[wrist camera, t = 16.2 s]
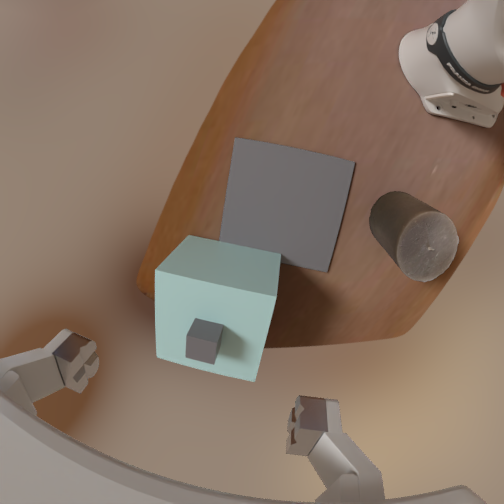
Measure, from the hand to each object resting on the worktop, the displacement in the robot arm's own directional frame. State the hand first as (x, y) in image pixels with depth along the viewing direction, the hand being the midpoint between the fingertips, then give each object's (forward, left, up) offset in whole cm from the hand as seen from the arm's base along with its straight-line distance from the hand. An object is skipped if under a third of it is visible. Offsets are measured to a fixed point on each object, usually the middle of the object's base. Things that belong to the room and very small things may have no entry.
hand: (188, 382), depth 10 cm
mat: (-3, +1, -39) cm, 39 cm away
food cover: (+4, +17, -39) cm, 43 cm away
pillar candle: (-22, -1, -39) cm, 45 cm away
